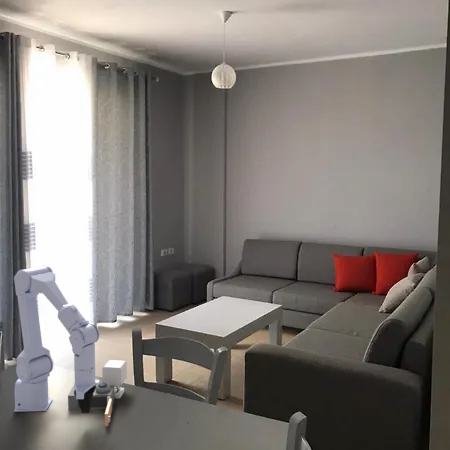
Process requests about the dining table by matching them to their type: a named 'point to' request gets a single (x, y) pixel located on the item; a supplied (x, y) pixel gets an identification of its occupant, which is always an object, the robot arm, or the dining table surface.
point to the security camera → (115, 375)
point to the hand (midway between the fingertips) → (85, 412)
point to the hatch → (108, 410)
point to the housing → (98, 397)
